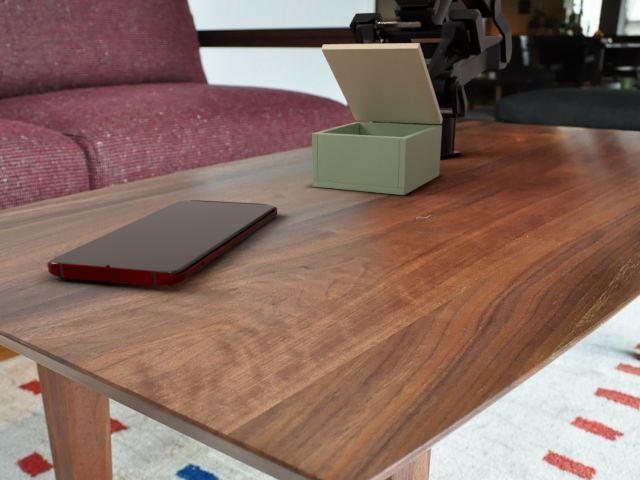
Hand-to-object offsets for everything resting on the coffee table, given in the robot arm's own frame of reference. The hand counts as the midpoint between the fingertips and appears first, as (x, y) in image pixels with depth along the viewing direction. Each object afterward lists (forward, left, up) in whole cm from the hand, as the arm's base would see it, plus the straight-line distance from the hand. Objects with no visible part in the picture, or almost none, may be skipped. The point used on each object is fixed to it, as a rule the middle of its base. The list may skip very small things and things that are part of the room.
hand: (396, 76), depth 91 cm
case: (+6, +4, -13) cm, 15 cm away
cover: (+5, +3, -1) cm, 6 cm away
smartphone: (+40, +14, -13) cm, 45 cm away
